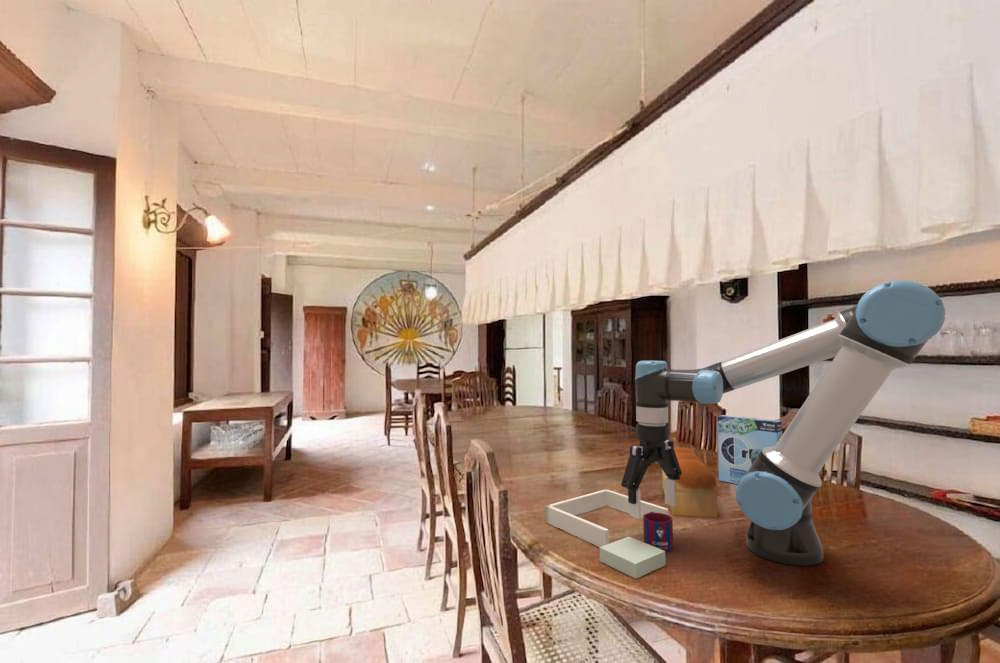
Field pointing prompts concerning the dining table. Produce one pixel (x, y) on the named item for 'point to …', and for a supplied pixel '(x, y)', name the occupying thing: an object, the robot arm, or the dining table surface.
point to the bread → (693, 487)
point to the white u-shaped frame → (588, 531)
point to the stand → (632, 557)
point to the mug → (658, 530)
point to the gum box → (742, 443)
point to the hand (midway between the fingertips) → (653, 510)
